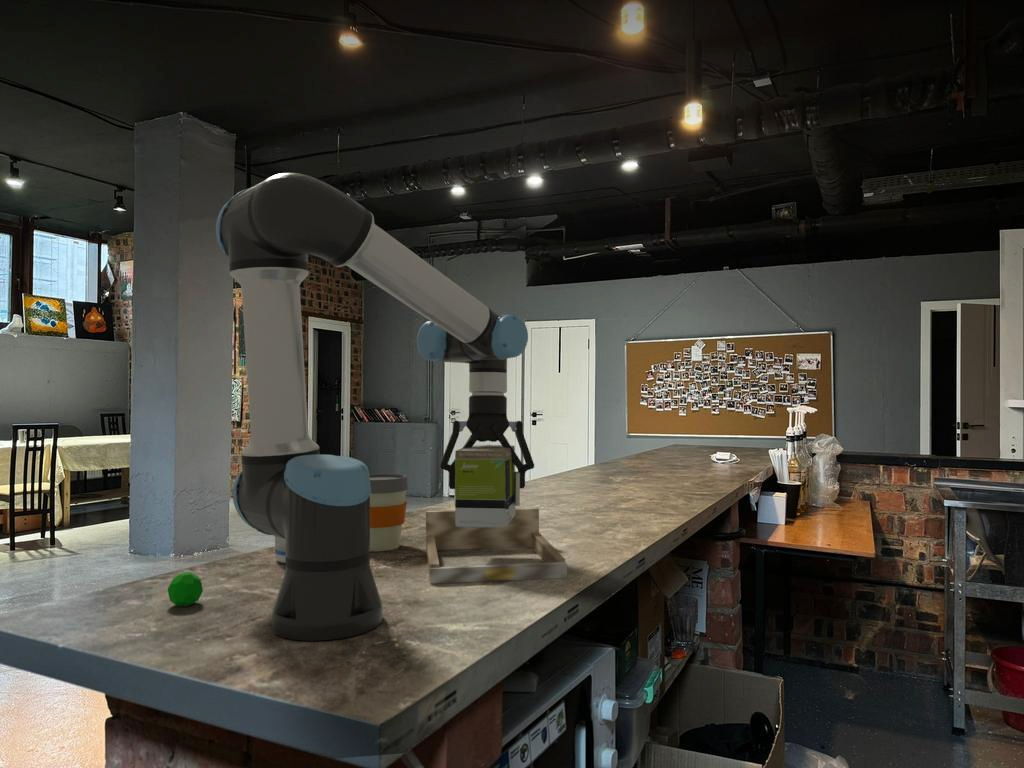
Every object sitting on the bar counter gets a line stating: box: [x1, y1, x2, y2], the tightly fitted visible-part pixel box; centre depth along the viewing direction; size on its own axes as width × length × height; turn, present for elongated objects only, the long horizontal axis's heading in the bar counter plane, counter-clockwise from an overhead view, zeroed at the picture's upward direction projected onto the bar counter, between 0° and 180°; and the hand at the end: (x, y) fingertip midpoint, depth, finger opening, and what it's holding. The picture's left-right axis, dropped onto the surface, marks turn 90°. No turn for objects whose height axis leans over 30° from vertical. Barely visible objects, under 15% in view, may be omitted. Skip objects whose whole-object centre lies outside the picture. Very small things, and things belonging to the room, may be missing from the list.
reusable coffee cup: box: [369, 473, 409, 552], centre depth 151 cm, size 13×13×15 cm
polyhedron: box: [167, 572, 204, 607], centre depth 109 cm, size 5×5×5 cm
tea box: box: [454, 444, 516, 528], centre depth 139 cm, size 15×10×15 cm, turn 173°
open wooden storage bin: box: [425, 507, 568, 585], centre depth 136 cm, size 24×28×8 cm
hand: (486, 505), depth 139 cm, fingers closed on tea box, 11 cm apart
